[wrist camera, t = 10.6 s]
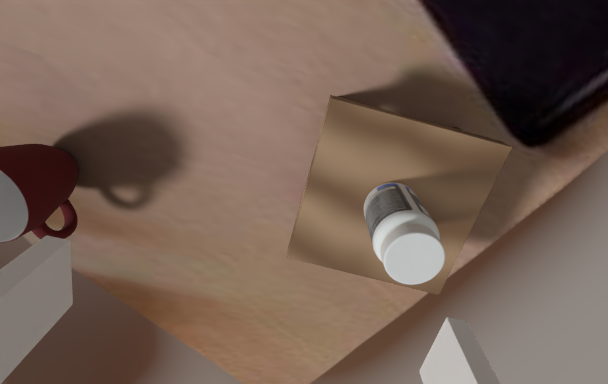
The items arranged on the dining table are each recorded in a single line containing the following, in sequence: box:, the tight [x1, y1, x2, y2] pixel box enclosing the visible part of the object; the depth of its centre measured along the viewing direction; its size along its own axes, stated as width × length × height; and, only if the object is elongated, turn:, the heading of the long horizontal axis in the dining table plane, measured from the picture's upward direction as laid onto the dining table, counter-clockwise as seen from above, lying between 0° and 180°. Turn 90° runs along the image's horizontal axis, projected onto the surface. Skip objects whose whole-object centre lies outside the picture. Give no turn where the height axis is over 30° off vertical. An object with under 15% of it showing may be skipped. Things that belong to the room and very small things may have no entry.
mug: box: [0, 144, 79, 243], centre depth 35 cm, size 10×8×10 cm
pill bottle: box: [364, 182, 445, 285], centre depth 27 cm, size 5×5×8 cm
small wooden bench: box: [287, 95, 512, 294], centre depth 35 cm, size 15×15×8 cm
